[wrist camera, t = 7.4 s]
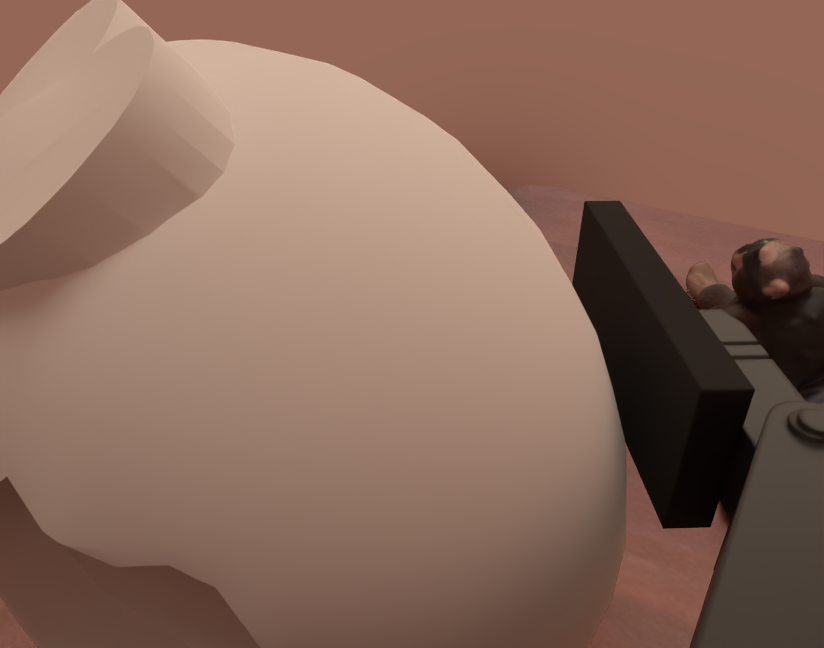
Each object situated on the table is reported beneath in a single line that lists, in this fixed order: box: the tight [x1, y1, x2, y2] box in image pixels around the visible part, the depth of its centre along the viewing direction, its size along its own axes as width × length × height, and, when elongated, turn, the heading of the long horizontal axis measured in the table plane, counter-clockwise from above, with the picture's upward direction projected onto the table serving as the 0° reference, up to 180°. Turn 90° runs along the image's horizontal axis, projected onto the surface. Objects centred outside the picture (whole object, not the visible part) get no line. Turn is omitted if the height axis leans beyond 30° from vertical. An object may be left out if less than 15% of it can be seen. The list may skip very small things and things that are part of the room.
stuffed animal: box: [686, 238, 824, 405], centre depth 30 cm, size 12×10×12 cm
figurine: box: [0, 0, 626, 648], centre depth 14 cm, size 11×11×15 cm
